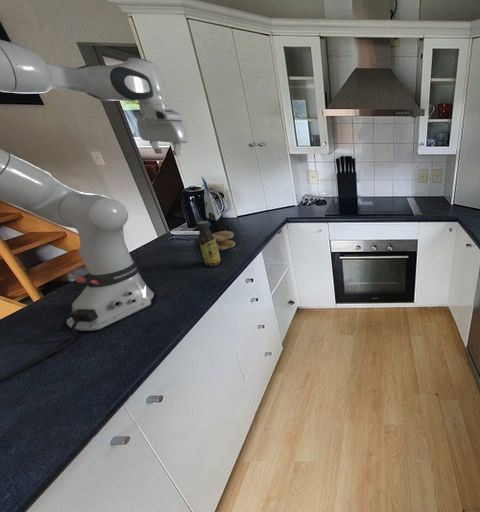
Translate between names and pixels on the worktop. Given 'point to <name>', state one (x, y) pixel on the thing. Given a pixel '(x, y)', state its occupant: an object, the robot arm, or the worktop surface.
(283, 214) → the worktop surface
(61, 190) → the robot arm
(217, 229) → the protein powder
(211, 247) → the sauce bottle
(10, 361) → the worktop surface
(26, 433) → the worktop surface
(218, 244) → the stand
